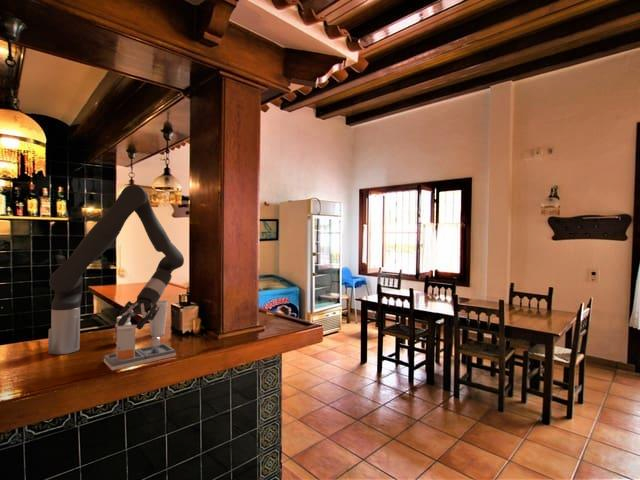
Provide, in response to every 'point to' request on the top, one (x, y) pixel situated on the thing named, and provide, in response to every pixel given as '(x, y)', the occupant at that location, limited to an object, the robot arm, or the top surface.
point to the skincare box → (125, 342)
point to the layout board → (142, 355)
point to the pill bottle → (123, 325)
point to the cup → (159, 319)
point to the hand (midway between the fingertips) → (128, 327)
